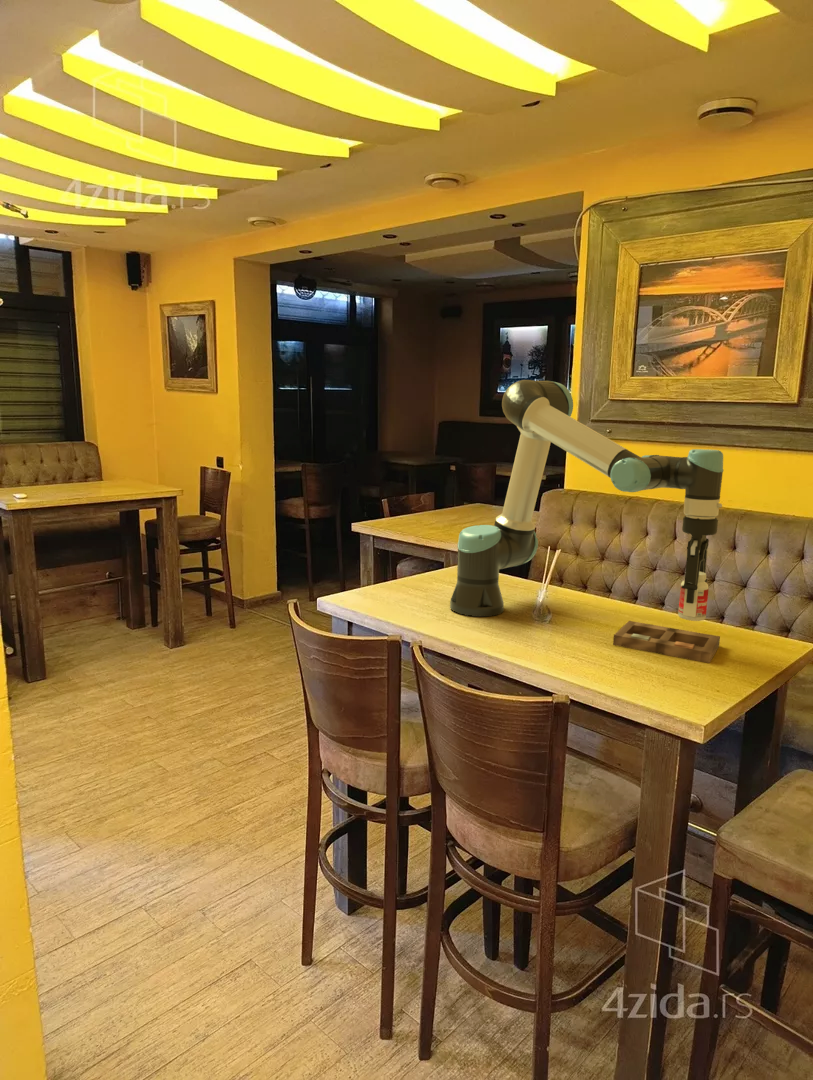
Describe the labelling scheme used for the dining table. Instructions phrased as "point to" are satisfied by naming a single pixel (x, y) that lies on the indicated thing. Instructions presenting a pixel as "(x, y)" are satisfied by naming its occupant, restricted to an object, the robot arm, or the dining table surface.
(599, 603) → the dining table surface
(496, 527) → the robot arm
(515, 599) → the dining table surface
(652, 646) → the socket board
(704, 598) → the pill bottle
